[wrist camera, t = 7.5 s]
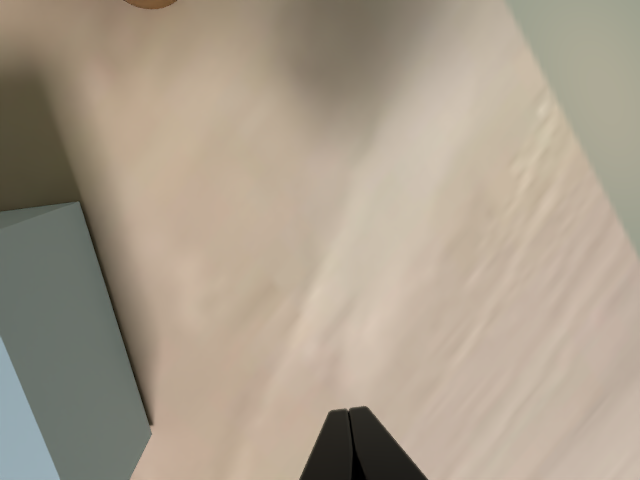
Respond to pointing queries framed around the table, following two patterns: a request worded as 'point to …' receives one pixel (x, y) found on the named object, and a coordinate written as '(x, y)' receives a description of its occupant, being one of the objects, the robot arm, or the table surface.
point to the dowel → (150, 3)
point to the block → (62, 356)
